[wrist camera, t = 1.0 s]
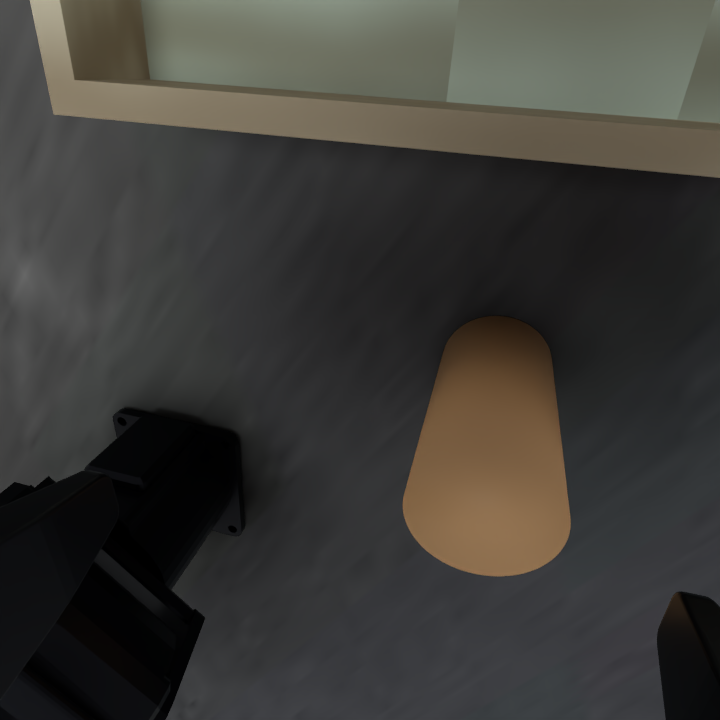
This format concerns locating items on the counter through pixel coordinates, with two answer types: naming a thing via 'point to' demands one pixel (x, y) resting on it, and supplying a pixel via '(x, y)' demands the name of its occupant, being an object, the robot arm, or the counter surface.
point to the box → (405, 73)
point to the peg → (491, 454)
